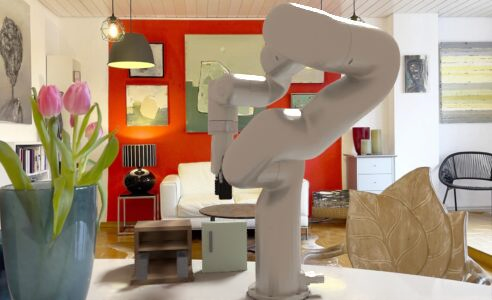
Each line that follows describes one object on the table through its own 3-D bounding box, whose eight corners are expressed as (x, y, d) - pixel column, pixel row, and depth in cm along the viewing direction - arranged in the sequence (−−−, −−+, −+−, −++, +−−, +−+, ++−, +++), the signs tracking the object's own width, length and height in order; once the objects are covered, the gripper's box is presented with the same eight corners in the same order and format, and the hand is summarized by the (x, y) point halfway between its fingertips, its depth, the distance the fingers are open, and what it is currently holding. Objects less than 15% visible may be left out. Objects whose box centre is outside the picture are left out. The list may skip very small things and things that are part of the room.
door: (245, 267, 106) (245, 220, 106) (247, 270, 103) (247, 222, 103) (202, 269, 104) (201, 221, 104) (203, 273, 101) (202, 223, 101)
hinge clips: (187, 269, 101) (186, 250, 101) (187, 276, 94) (187, 257, 95) (138, 272, 99) (138, 253, 99) (136, 280, 93) (136, 259, 93)
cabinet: (190, 259, 114) (190, 219, 114) (193, 281, 95) (193, 232, 95) (138, 262, 112) (137, 221, 112) (130, 284, 92) (129, 235, 92)
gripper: (205, 130, 112) (205, 193, 112) (210, 127, 95) (211, 202, 95) (232, 130, 113) (233, 193, 113) (243, 127, 96) (243, 201, 96)
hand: (223, 197), depth 104 cm, fingers open, 9 cm apart
